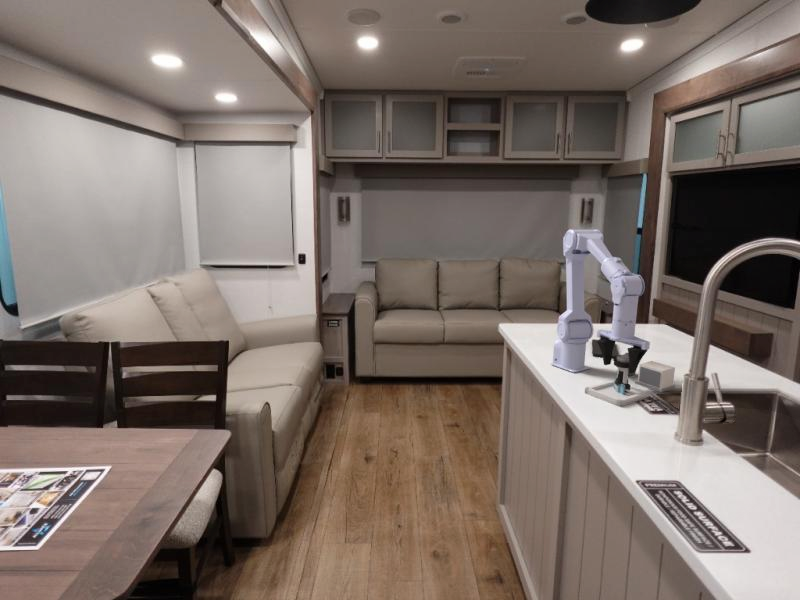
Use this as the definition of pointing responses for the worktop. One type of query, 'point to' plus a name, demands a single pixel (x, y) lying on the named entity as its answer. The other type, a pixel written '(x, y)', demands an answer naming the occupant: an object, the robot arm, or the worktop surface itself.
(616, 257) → the robot arm
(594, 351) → the smart home device
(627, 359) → the push button
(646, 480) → the worktop surface
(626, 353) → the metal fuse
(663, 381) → the panel
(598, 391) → the tray
